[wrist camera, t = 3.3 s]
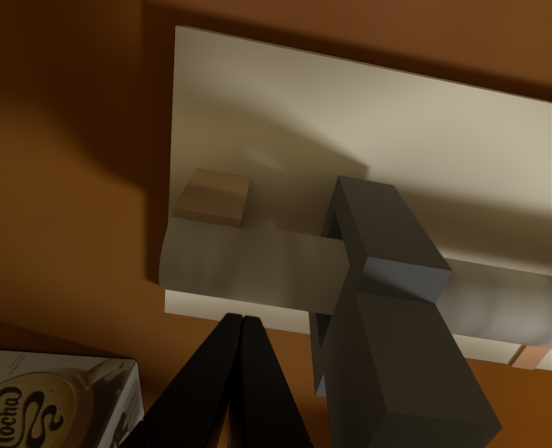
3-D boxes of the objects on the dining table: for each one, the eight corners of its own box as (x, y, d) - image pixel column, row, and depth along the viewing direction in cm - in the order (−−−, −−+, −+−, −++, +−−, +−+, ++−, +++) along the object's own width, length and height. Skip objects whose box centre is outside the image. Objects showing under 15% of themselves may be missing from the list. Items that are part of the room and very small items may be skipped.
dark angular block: (352, 293, 15) (413, 531, 8) (306, 285, 15) (325, 521, 8) (393, 185, 12) (534, 389, 5) (338, 174, 12) (409, 371, 5)
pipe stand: (638, 363, 20) (766, 484, 14) (173, 291, 18) (127, 400, 13) (843, 162, 14) (1179, 243, 9) (187, 25, 12) (113, 24, 7)
